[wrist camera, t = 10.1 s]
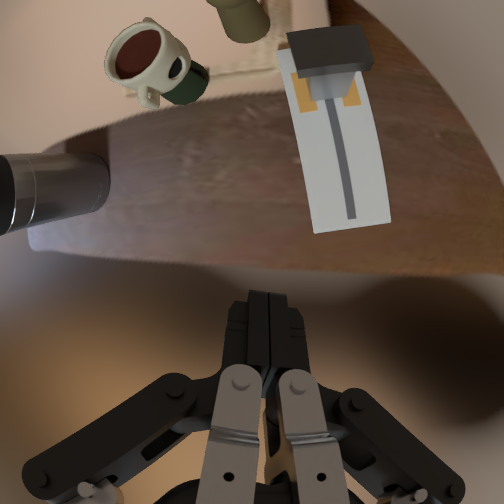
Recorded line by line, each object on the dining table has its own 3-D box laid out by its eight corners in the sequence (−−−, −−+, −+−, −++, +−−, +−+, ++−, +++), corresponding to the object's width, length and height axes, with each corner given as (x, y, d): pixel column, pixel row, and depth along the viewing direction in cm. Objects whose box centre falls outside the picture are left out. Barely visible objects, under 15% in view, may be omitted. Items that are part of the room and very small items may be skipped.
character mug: (214, 118, 33) (164, 91, 21) (163, 127, 35) (100, 110, 22) (212, 44, 31) (168, -3, 18) (163, 56, 32) (108, 21, 20)
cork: (254, 2, 28) (233, -45, 17) (279, 28, 28) (265, -19, 18) (216, 24, 30) (184, -17, 19) (239, 51, 30) (211, 10, 20)
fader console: (386, 220, 32) (391, 222, 30) (313, 230, 34) (313, 233, 32) (348, 47, 27) (350, 40, 25) (277, 57, 30) (275, 50, 28)
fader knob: (355, 98, 27) (374, 61, 17) (303, 105, 29) (297, 70, 18) (347, 69, 26) (360, 24, 16) (296, 76, 28) (286, 32, 17)
